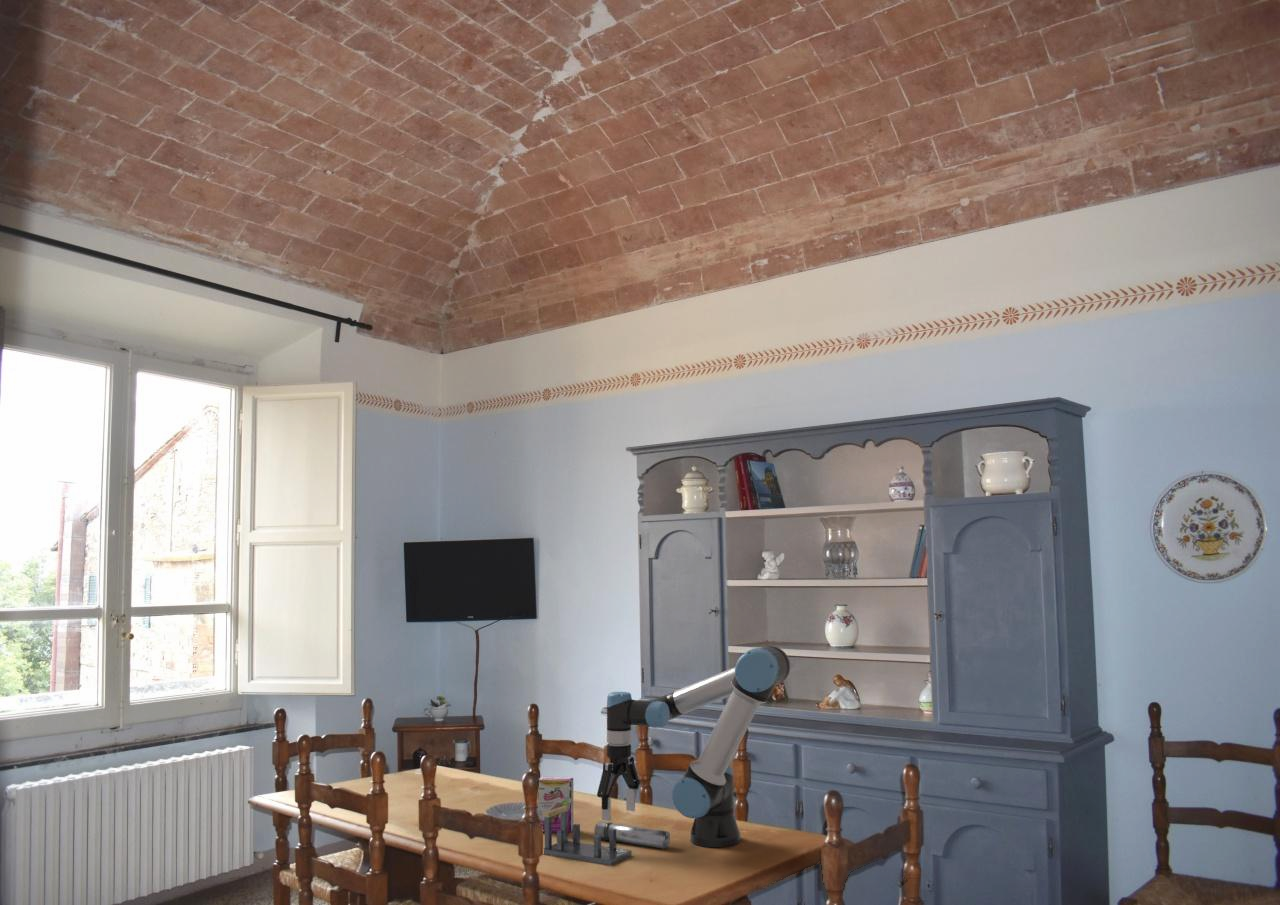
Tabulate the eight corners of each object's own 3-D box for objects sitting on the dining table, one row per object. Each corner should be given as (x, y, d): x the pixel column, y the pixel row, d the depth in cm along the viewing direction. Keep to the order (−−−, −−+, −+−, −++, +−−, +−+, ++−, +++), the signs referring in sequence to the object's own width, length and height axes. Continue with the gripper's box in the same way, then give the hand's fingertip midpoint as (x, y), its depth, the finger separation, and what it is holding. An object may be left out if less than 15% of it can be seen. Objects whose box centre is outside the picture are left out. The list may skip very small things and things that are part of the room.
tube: (666, 852, 302) (671, 835, 305) (659, 844, 298) (664, 827, 301) (600, 841, 314) (605, 825, 317) (592, 834, 311) (597, 818, 314)
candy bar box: (536, 833, 322) (536, 779, 324) (539, 829, 327) (539, 776, 329) (571, 833, 321) (571, 779, 323) (574, 829, 326) (573, 776, 328)
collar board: (631, 855, 294) (631, 814, 296) (610, 865, 285) (610, 822, 286) (564, 845, 307) (564, 805, 308) (542, 854, 298) (542, 813, 299)
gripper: (630, 736, 324) (630, 805, 321) (585, 749, 302) (585, 822, 300) (650, 738, 320) (650, 808, 317) (606, 751, 298) (606, 826, 296)
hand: (618, 815), depth 309 cm, fingers open, 13 cm apart
